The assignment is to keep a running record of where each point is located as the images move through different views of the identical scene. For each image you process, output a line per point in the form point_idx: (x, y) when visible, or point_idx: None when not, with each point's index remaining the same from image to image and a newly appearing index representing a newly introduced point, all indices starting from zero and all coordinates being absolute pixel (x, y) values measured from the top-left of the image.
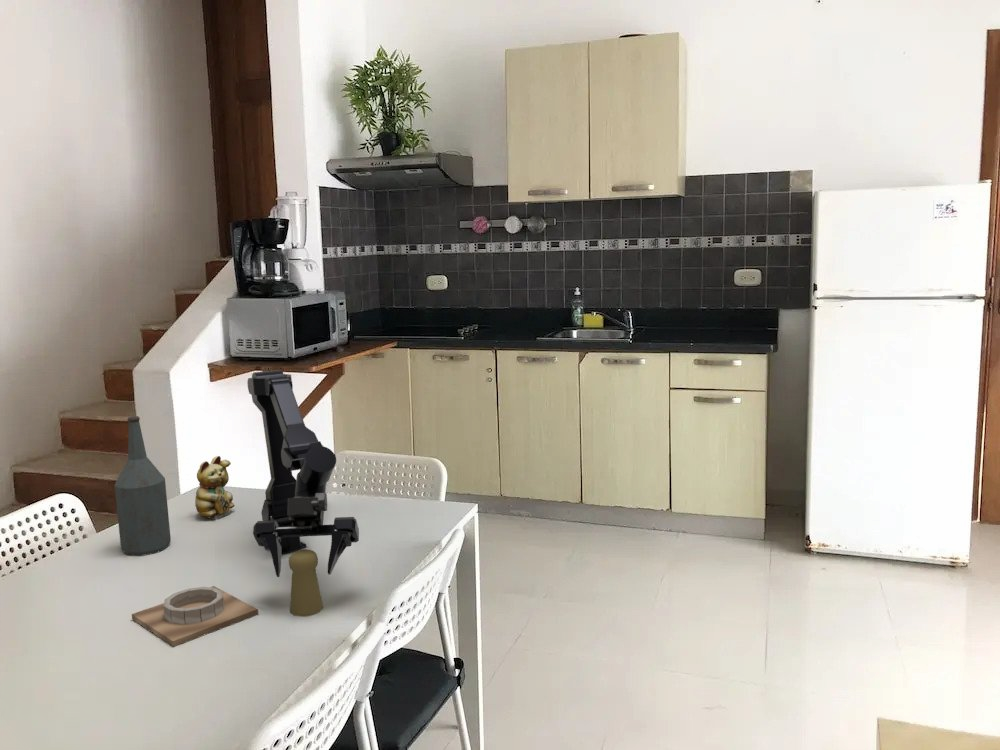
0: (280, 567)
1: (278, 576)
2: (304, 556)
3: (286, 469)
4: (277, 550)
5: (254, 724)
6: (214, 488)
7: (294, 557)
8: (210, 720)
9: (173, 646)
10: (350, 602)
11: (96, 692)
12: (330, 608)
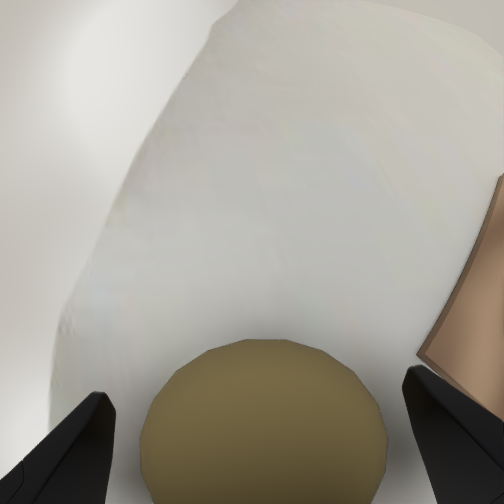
0: (421, 442)
1: (405, 377)
2: (220, 388)
3: None
4: (500, 465)
5: (235, 4)
6: None
7: (327, 380)
8: (297, 8)
9: (499, 177)
10: (118, 438)
11: (483, 76)
12: None
